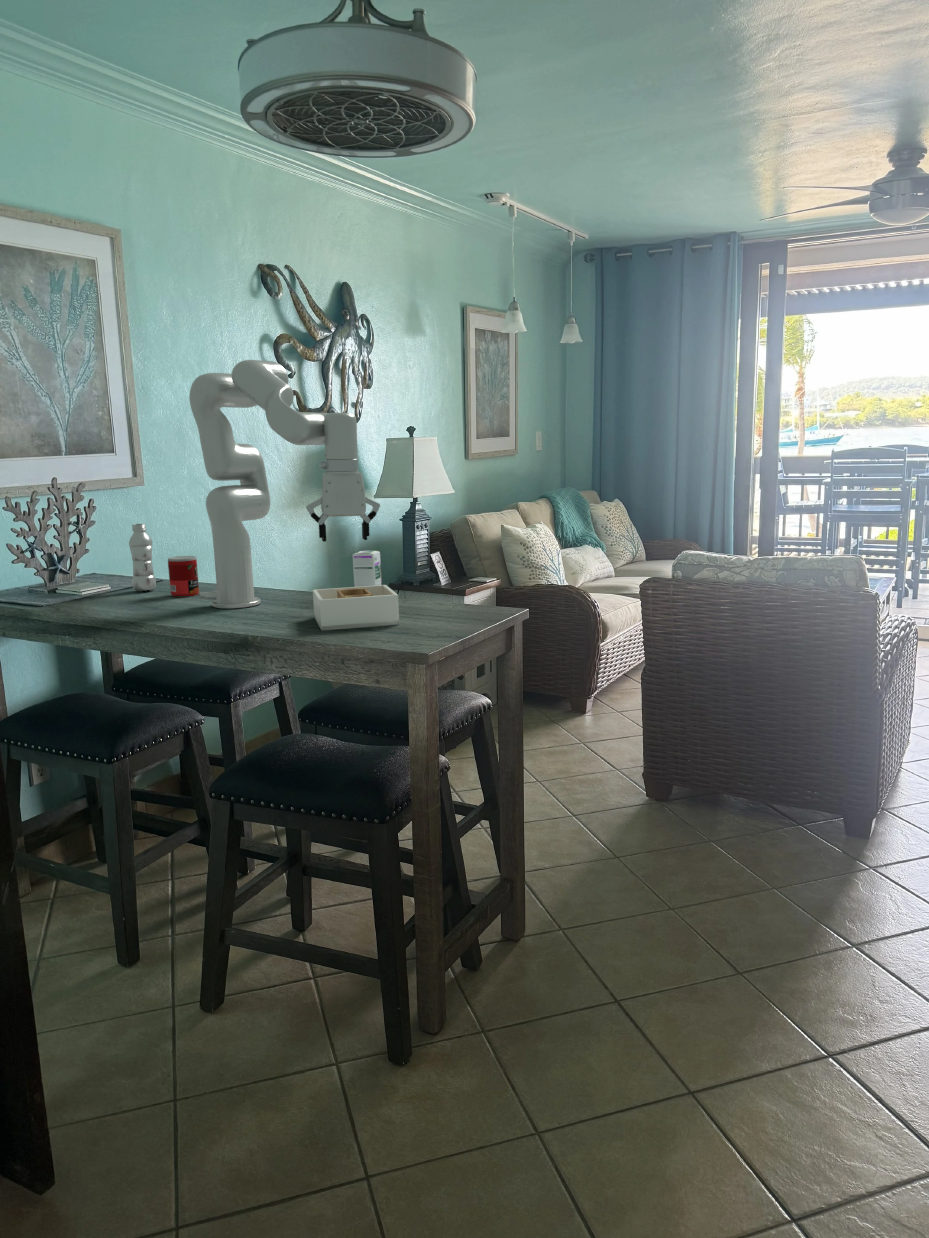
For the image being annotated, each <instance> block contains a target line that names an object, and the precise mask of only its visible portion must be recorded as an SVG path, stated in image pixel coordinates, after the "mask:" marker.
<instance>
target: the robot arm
mask: <svg viewBox="0 0 929 1238" xmlns="http://www.w3.org/2000/svg"><path fill="white" fill-rule="evenodd" d="M289 383H290V382H289V376H288V372H287V370H286V369H285V368H284V367H283V365H282V364H280V363H278V362H276V361H272V360H271V361H269V360H261V359H260V360H259V359H244V360H241V361H239V362H238V363H236V364H235V366H234V367H233V368H232V371H231V373H226V372H207V373H203V374H200V375H199V376H197V377H196V378H195V379H194V380H193V382H192V384H191V386H190V390H189V406H190V410H191V413H192V416H193V418H194V420H195V424H196V426H197V430H198V435H199V441H200V446H201V447H200V448H201V452H202V458H203V463H204V468H205V471H206V474H207V476H208V477H209V478H210V479H212V480H214V481H219V482H221V481H222V482H223V481H227V482H228V481H239V484H233V485H232V484H231V485H222V486H219V487H218V486H217V487H215V488H213V489H212V490H211V491H209V492H208V494H207V496H206V498H205V499H206V500H205V509H206V512H207V515H208V520H209V523H210V527H211V535H212V546H213V557H214V559H213V560H214V567H215V568H214V569H215V583H216V587H215V590H213V589H212V590H211V591H199V599H200V600H205V601H206V600H213V601H211V606H212V607H213V608H217V609H242V608H243V609H244V608H249V607H250V608H251V607H255V606H258V605H259V604H261V598H259V597H257V596H255V588H254V576H253V575H254V573H253V560H252V547H251V546H252V545H251V539H250V535H249V532H248V530H247V529H246V526H245V525H244V524H243V522H247V521H255V520H260V519H263V518H265V517H266V516H267V515H268V514H269V512H270V508H271V495H270V490H269V483H268V478H267V477H268V476H267V474H266V472H267V471H266V467H265V462H264V458H263V456H262V454H261V452H260V451H259V450H258V448H257V447H255V446H254V445H252V444H249V443H236V442H235V437H234V431H233V428H232V424H231V423H230V421H229V419H228V417H227V415H225V413H223V412H222V410H221V408H231V409H232V408H239V409H240V408H241V409H242V408H243V409H247V408H253V407H256V406H258V407H260V408H261V409H262V410H263V411H265V418H266V421H267V423H268V426H269V427H270V429H271V430H272V431H273V432H275V433H276V434H277V435H279V437H281V438H282V439H284V440H285V441H287V442H288V443H290V444H293V445H296V446H324V454H325V455H324V457H325V459H324V461H322V462H319V463H318V464H319V469H323V470H325V472H324V473H323V474H322V479H321V493H320V494H321V496H320V497H319V498H317V499H316V500H314V501H312V502H311V503H309V504H307V505H306V506H305V508H306V510H307V512H308V514H309V515H310V517H311V518H312V519H313V521H315V522H316V523H317V525H318V534H319V535H318V536H319V539H321V541H322V542H324V543H327V526H326V523H325V522H326V520H328V519H329V517H331V518H332V517H337V518H338V517H358V516H359V517H360V518H361V519H362V522H361V533H362V535H361V538H362V539H363V540H364V541H367V540H368V537H369V536H370V523H371V521H373V519H374V518H375V517H376V516H377V514H378V512H379V510H380V507H381V503H379V502H376V501H374V500H372V499H370V498H368V497H367V496H366V489H365V482H364V477H363V473H362V472H359V458H358V457H359V456H358V455H359V454H358V451H359V449H358V427H357V426H358V425H357V423H358V421H357V417H356V415H355V414H354V413H351V412H330V413H329V412H317V411H316V412H315V411H312V412H311V411H310V412H309V411H308V412H307V411H306V412H305V411H303V412H301V411H297V410H296V409H294V408H293V407H292V405H293V402H294V397H295V396H294V390H293V388H292V386H291V385H290V384H289ZM367 505H370V506H371V507H372V509H371V511H370V512H369V513H368V514H366V512H367V511H366V510H367ZM319 506H320V507H321V508H320V509H321V515H320V516H319V515H317V513H316V512H315V510H314V509H315V508H317V507H319Z"/></svg>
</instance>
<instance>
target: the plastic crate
mask: <svg viewBox="0 0 929 1238" xmlns="http://www.w3.org/2000/svg"><path fill="white" fill-rule="evenodd" d="M360 588H366V589H367V590H368V591H369V592H370V593H371V594H372V596H366V597H352V598H337V590H345V589H360ZM312 601H313V615H314V616H313V617H314V620H315V621H316V624H317V625H318V626H319V628H320V630H321V631H332V630H333V631H334V630H336V631H337V630H347V629H349V630H350V629H358V628H372V627H373V628H374V627H388V626H397V625H398V626H399V625H400V612H399V611H400V610H399V608H400V605H399V594H397V593H396V592H395V591H394V590H393V589H392V588H390V586H388V585H387V584H382V585H377V586H362V587H355V586H350V587H348V586H347V587H337V588H335V587H334V588H333V587H331V588H320V589H312Z"/></svg>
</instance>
